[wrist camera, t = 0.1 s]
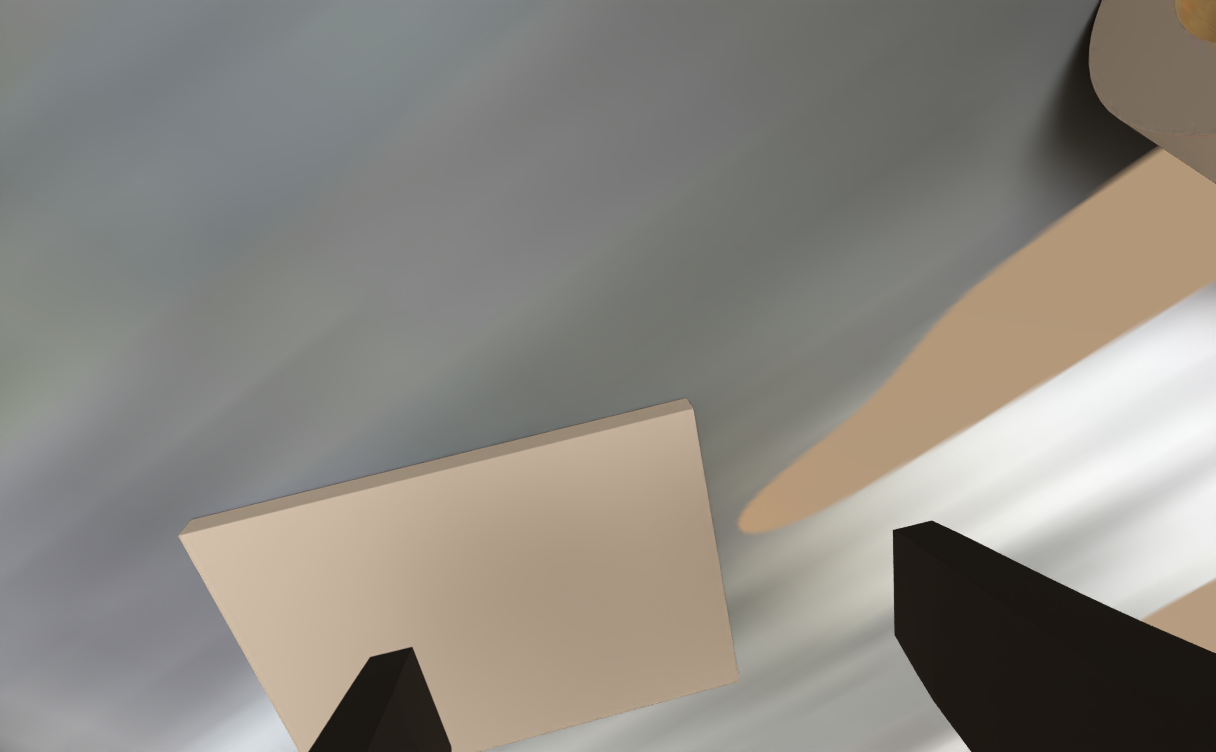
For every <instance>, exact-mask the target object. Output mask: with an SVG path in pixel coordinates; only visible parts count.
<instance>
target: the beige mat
mask: <svg viewBox="0 0 1216 752" xmlns="http://www.w3.org/2000/svg"><path fill="white" fill-rule="evenodd" d="M179 538H180V540H181V541H182V543H183V545H184V547H185V549H186V550H187V552H188V554H189V556H190V558H191V559H192V561H193V563H194V565H195V566H196V568H197V570H198V572H199V574H200V575H201V577H202V579H203V581H204V583H205V584H206V586H207V588H208V590H209V592H210V593H211V595H212V597H213V599H214V600H215V602H216V604H217V606H218V608H219V609H220V611H221V613H222V615H223V617H224V618H225V620H226V622H227V624H228V626H229V627H230V629H231V631H232V633H233V634H234V636H235V638H236V640H237V642H238V643H239V645H240V647H241V649H242V651H243V652H244V654H245V656H246V658H247V660H248V661H249V663H250V665H251V667H252V669H253V670H254V672H255V674H256V676H257V677H258V679H259V681H260V683H261V685H262V686H263V688H264V690H265V692H266V694H267V695H268V697H269V699H270V701H271V703H272V704H273V706H274V708H275V710H276V711H277V713H278V715H279V717H280V719H281V720H282V722H283V724H284V726H285V728H286V729H287V731H288V733H289V735H290V737H291V738H292V740H293V742H294V744H295V745H296V747H297V749H298V751H299V752H308V751H309V750H310V748H311V747H312V745H313V744H314V742H315V740H316V739H317V737H318V736H319V734H320V733H321V731H322V730H323V728H324V727H325V725H326V724H327V722H328V720H329V719H330V717H331V716H332V714H333V713H334V711H335V709H336V708H337V706H338V705H339V703H340V702H341V700H342V699H343V697H344V695H345V694H346V692H347V691H348V689H349V688H350V686H351V685H352V683H353V682H354V680H355V679H356V677H357V676H358V674H359V673H360V671H361V670H362V668H363V667H364V665H365V664H366V662H367V661H368V659H369V658H370V657H372V656H376V655H380V654H384V653H388V652H392V651H397V650H401V649H405V648H409V647H413V649H414V652H415V655H416V657H417V660H418V662H419V665H420V667H421V670H422V672H423V675H424V678H425V680H426V683H427V685H428V688H429V690H430V693H431V695H432V698H433V701H434V703H435V706H436V708H437V711H438V713H439V716H440V718H441V721H442V724H443V726H444V729H445V731H446V734H447V736H448V739H449V741H450V744H451V747H452V752H479V751H483V750H486V749H490V748H494V747H497V746H501V745H505V744H509V743H512V742H516V741H520V740H523V739H527V738H531V737H534V736H538V735H542V734H546V733H549V732H553V731H557V730H560V729H564V728H568V727H571V726H575V725H579V724H583V723H586V722H590V721H594V720H597V719H601V718H605V717H609V716H612V715H616V714H620V713H623V712H627V711H631V710H634V709H638V708H642V707H646V706H649V705H653V704H657V703H660V702H664V701H668V700H671V699H675V698H679V697H683V696H686V695H690V694H694V693H697V692H701V691H705V690H708V689H712V688H716V687H720V686H723V685H727V684H731V683H734V682H738V681H739V676H738V670H737V664H736V658H735V652H734V647H733V641H732V635H731V629H730V623H729V617H728V611H727V605H726V599H725V593H724V588H723V582H722V576H721V570H720V564H719V558H718V552H717V546H716V540H715V534H714V529H713V523H712V517H711V511H710V505H709V499H708V493H707V487H706V481H705V475H704V470H703V464H702V458H701V452H700V446H699V440H698V434H697V428H696V422H695V417H694V411H693V408H692V406H691V404H690V403H689V401H688V400H687V398H684V399H680V400H676V401H672V402H668V403H664V404H660V405H656V406H652V407H648V408H644V409H640V410H636V411H632V412H628V413H623V414H619V415H615V416H611V417H607V418H603V419H599V420H595V421H591V422H587V423H583V424H579V425H575V426H571V427H567V428H562V429H558V430H554V431H550V432H546V433H542V434H538V435H534V436H530V437H526V438H522V439H518V440H514V441H510V442H506V443H502V444H497V445H493V446H489V447H485V448H481V449H477V450H473V451H469V452H465V453H461V454H457V455H453V456H449V457H445V458H441V459H437V460H432V461H428V462H424V463H420V464H416V465H412V466H408V467H404V468H400V469H396V470H392V471H388V472H384V473H380V474H376V475H372V476H367V477H363V478H359V479H355V480H351V481H347V482H343V483H339V484H335V485H331V486H327V487H323V488H319V489H315V490H311V491H307V492H302V493H298V494H294V495H290V496H286V497H282V498H278V499H274V500H270V501H266V502H262V503H258V504H254V505H250V506H246V507H241V508H237V509H233V510H229V511H225V512H221V513H217V514H213V515H209V516H205V517H201V518H197V519H193V520H191V521H190V522H189V524H188V525H187V526H186V527H185V528H184V530H183V531H182V532H181V533H180V534H179Z"/></svg>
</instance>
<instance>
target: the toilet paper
mask: <svg viewBox="0 0 1216 752" xmlns="http://www.w3.org/2000/svg"><path fill="white" fill-rule="evenodd" d="M1089 69H1090V76H1091V81H1092V84H1093V87H1094V90H1095V92H1096V94H1097V96H1098V98H1099V99H1100V101H1101V102H1102V104H1103V105H1104V106H1105V107H1106V108H1107V109H1108V111H1109V112H1111V113H1112V114H1113V115H1115V116H1116V117H1117V118H1118V119H1120V120H1121V121H1123V122H1124V123H1126V124H1127V125H1129V126H1130V127H1132V128H1133V129H1135V130H1136V131H1138V132H1139V133H1141V134H1142V135H1144V136H1145V137H1147V138H1148V139H1150V140H1151V141H1153V142H1154V143H1156V144H1157V145H1159V146H1160V147H1162V148H1163V149H1165V150H1166V151H1168V152H1169V153H1171V154H1172V155H1174V156H1175V157H1177V158H1179V159H1180V160H1181V161H1183V162H1184V163H1186V164H1187V165H1189V166H1190V167H1192V168H1193V169H1195V170H1196V171H1197V172H1199V173H1200V174H1202V175H1203V176H1205V177H1206V178H1208V179H1209V180H1211V181H1212V182H1214V183H1215V184H1216V0H1102V2H1101V4H1100V7H1099V10H1098V13H1097V16H1096V19H1095V23H1094V27H1093V31H1092V35H1091V41H1090V49H1089Z"/></svg>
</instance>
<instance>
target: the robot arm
mask: <svg viewBox="0 0 1216 752" xmlns="http://www.w3.org/2000/svg"><path fill="white" fill-rule="evenodd" d="M893 566H894V628H895V637H896V638H897V640H898V642H899V643H900V645H901V647H902V649H903V650H904V652H905V654H906V656H907V657H908V659H909V661H910V663H911V664H912V666H913V668H914V670H915V671H916V673H917V675H918V676H919V678H920V680H921V681H922V683H923V684H924V686H925V688H926V689H927V691H928V693H929V694H930V696H931V698H932V699H933V701H934V702H935V704H936V705H937V706H938V708H939V709H940V710H941V712H942V713H943V714H944V716H945V717H946V719H947V720H948V721H949V723H950V724H951V725H952V727H953V728H954V729H955V731H956V732H957V733H958V735H959V736H960V737H961V739H962V740H963V741H964V743H965V744H966V745H967V747H968V748H969V749H970V751H971V752H1216V653H1214V652H1211V651H1209V650H1206V649H1204V648H1202V647H1199V646H1197V645H1195V644H1193V643H1190V642H1188V641H1186V640H1183V639H1181V638H1179V637H1176V636H1174V635H1172V634H1169V633H1167V632H1165V631H1162V630H1160V629H1158V628H1156V627H1153V626H1151V625H1148V624H1146V623H1144V622H1142V621H1139V620H1137V619H1135V618H1133V617H1131V616H1129V615H1126V614H1124V613H1122V612H1120V611H1118V610H1115V609H1113V608H1111V607H1109V606H1107V605H1105V604H1102V603H1100V602H1098V601H1096V600H1094V599H1092V598H1090V597H1088V596H1085V595H1083V594H1081V593H1079V592H1077V591H1075V590H1073V589H1071V588H1069V587H1067V586H1065V585H1063V584H1060V583H1058V582H1056V581H1054V580H1052V579H1050V578H1048V577H1046V576H1044V575H1042V574H1040V573H1038V572H1036V571H1034V570H1032V569H1030V568H1028V567H1026V566H1024V565H1022V564H1020V563H1018V562H1016V561H1014V560H1012V559H1010V558H1008V557H1006V556H1004V555H1002V554H1000V553H998V552H996V551H994V550H992V549H990V548H988V547H986V546H984V545H982V544H980V543H978V542H976V541H974V540H972V539H970V538H968V537H966V536H964V535H962V534H960V533H957V532H955V531H953V530H951V529H949V528H947V527H945V526H943V525H940V524H938V523H936V522H934V521H928V522H924V523H920V524H916V525H912V526H908V527H903V528H899V529H895V530H893ZM308 752H452V747H451V744H450V741H449V739H448V736H447V734H446V731H445V729H444V726H443V724H442V721H441V718H440V716H439V713H438V711H437V708H436V706H435V703H434V701H433V698H432V695H431V693H430V690H429V688H428V685H427V683H426V680H425V678H424V675H423V672H422V670H421V667H420V665H419V662H418V660H417V657H416V655H415V652H414V649H413V647H409V648H405V649H401V650H397V651H392V652H388V653H384V654H380V655H376V656H372V657H370V658H369V659H368V661H367V662H366V664H365V665H364V667H363V668H362V670H361V671H360V673H359V674H358V676H357V677H356V679H355V680H354V682H353V683H352V685H351V686H350V688H349V689H348V691H347V692H346V694H345V695H344V697H343V699H342V700H341V702H340V703H339V705H338V706H337V708H336V709H335V711H334V713H333V714H332V716H331V717H330V719H329V720H328V722H327V724H326V725H325V727H324V728H323V730H322V731H321V733H320V734H319V736H318V737H317V739H316V740H315V742H314V744H313V745H312V747H311V748H310V750H309V751H308Z"/></svg>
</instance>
